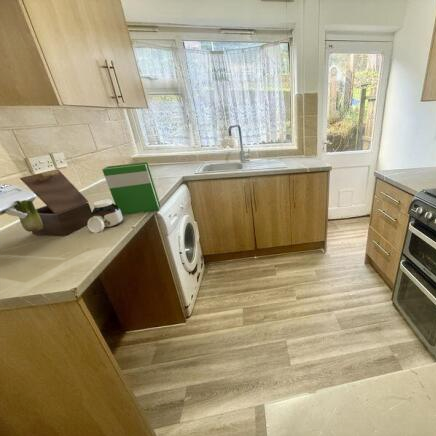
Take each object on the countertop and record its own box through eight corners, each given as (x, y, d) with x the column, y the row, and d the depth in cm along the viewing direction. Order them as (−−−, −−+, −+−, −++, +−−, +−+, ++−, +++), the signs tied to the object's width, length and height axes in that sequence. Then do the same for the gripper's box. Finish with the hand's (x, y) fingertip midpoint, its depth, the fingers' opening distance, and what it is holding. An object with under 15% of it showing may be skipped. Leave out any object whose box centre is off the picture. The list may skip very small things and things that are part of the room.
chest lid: (19, 178, 95) (25, 172, 93) (57, 170, 108) (63, 164, 106) (55, 214, 99) (61, 208, 98) (87, 202, 113) (93, 196, 111)
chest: (33, 234, 106) (22, 213, 102) (65, 220, 119) (57, 201, 115) (66, 236, 103) (56, 214, 99) (95, 221, 117) (88, 202, 113)
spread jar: (126, 220, 117) (117, 197, 112) (120, 230, 107) (110, 205, 102) (96, 225, 113) (86, 201, 108) (87, 235, 103) (76, 210, 99)
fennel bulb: (48, 228, 93) (33, 198, 88) (33, 234, 89) (16, 203, 84) (38, 227, 94) (22, 197, 89) (22, 232, 90) (5, 202, 85)
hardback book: (160, 206, 133) (147, 162, 123) (159, 210, 126) (145, 164, 116) (123, 212, 127) (106, 166, 117) (120, 217, 121) (102, 169, 111)
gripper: (5, 189, 93) (45, 210, 99) (-51, 207, 75) (2, 232, 81) (13, 177, 92) (53, 199, 98) (-41, 192, 74) (12, 218, 80)
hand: (30, 214), depth 89 cm, fingers closed on fennel bulb, 3 cm apart
